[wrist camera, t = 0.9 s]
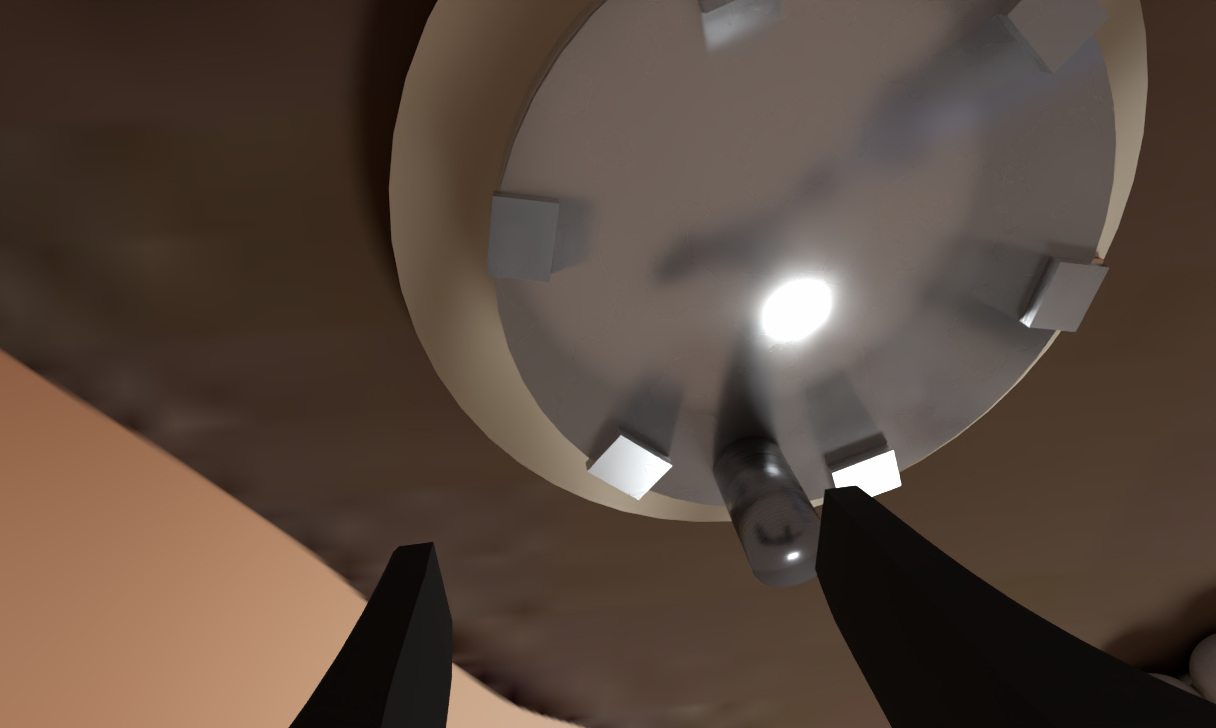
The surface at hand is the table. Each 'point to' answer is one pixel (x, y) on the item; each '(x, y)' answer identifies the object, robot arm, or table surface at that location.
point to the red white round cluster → (1199, 671)
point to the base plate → (467, 176)
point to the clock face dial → (796, 238)
